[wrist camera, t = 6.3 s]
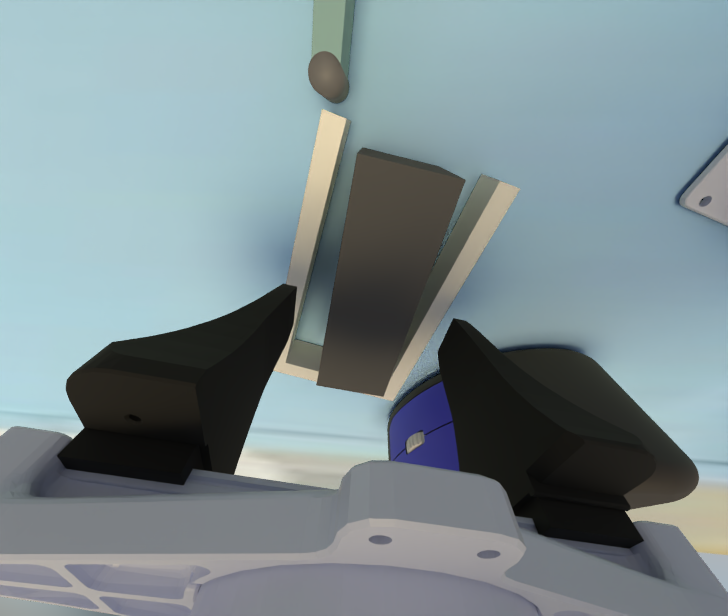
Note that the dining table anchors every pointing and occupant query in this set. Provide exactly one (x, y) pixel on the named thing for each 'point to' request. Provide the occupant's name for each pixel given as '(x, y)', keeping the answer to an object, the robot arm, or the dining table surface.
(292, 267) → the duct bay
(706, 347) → the dining table surface
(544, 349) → the leaning round-cornered charcoal block
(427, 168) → the dark brown rectangular block
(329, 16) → the sage green post
